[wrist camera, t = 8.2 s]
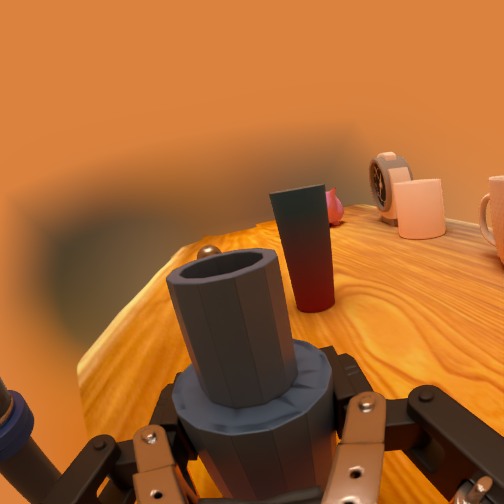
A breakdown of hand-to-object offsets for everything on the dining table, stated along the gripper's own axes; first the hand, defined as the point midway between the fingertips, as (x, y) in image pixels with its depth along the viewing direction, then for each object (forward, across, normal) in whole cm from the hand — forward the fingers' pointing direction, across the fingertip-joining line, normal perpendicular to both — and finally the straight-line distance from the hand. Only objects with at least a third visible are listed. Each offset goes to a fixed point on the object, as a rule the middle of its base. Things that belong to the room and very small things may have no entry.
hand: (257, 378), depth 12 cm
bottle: (-3, 0, +8) cm, 8 cm away
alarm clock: (+66, -42, +8) cm, 79 cm away
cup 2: (+47, -39, +8) cm, 62 cm away
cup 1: (+24, -7, +8) cm, 27 cm away
